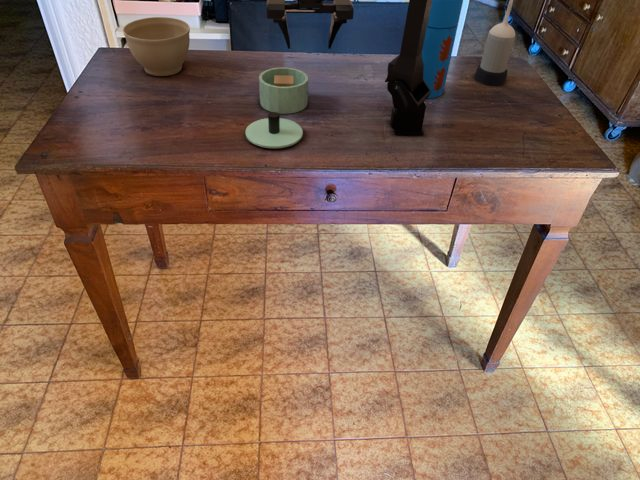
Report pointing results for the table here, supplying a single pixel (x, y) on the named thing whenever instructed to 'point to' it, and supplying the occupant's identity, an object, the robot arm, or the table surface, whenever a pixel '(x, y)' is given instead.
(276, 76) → the block
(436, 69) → the thermos
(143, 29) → the planter bowl
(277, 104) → the tin
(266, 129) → the lid
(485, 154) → the table surface
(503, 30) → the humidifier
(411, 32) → the robot arm
